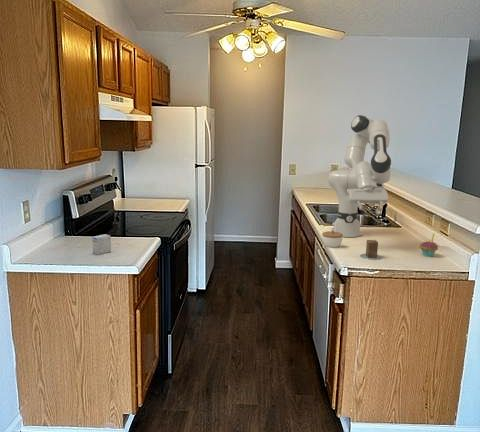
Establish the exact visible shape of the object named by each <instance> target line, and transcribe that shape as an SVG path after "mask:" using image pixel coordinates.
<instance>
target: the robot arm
mask: <svg viewBox="0 0 480 432" xmlns="http://www.w3.org/2000/svg"><path fill="white" fill-rule="evenodd" d="M350 123H351V124H350V128H351V130H352V131H353V132H354V134H352V135H351V136H350V138H349V140H348V142H347V146H346V151H345V154H344V155H345V156H344V159H343V160H344V163H345V165H346V166H347V167H349V168H350V169H351V170H349V169H336V170H331V172H330V173H329V174H328V177H327V183H328V185H329V186H330V187H331V188H333V189H332V190H334V191H335V193H336V195H337V198H338V211H337V213H336V214H337V215H336V216H337V218H336V219H335V221H334V222H332V227H331V230H330V231H332V230H333V231H334V232H339V233H342V234H343V236H342V238H357V237H360V236H363V233H362V232H361V222H360V221H359V220H358V218H359V212H358V208H359V210H360V211H363V210H364V204H366V205H367V204H371V205H372V204H373V205H374V204H375V205H376V204H378V205H377V210H378V211H381V210H382V205H386V204H387V203H388V202H389V199H390V198H389V194H388V191H387V189H386V188H385V184H386V183H388V181H390V178H391V165H392V159H391V156H390V155H389V154H388V152H387V148H388V147H389V145H390V131H389V130H390V129H389V127H388V124H387V122H386V121H385V120H382V119H376V120H373V119H371V118H369V117H366V116H365V115H361V114H358V115H357V116H355V117H354V118H353V119H352V121H351V122H350ZM368 144H369V145H370V148H371V150H373V155H372V157H371V159H370V162H368V161H366V160H365V155H366V149H367V145H368ZM362 204H363V205H362Z"/></svg>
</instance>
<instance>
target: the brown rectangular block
mask: <svg viewBox="0 0 480 432" xmlns="http://www.w3.org/2000/svg"><path fill="white" fill-rule="evenodd" d="M365 245H366V246H365V248H366V249H365V254H366V256H367V257H368V258H377V255H378V251H379V250H378V247H379V241H377V240H376V239H366V244H365Z"/></svg>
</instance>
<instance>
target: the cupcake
mask: <svg viewBox="0 0 480 432" xmlns="http://www.w3.org/2000/svg"><path fill="white" fill-rule="evenodd" d="M434 237H435V233H433V234H432V236H431V240H430V241H424V242H422V243H420V245H419V249H420V250H421V251H422V255H423V256H424V257H430V258H431V257H433V256H434V255H435V252H436V251H438V249H439V246H438V244H436V243H435V242H433V241H434Z"/></svg>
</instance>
